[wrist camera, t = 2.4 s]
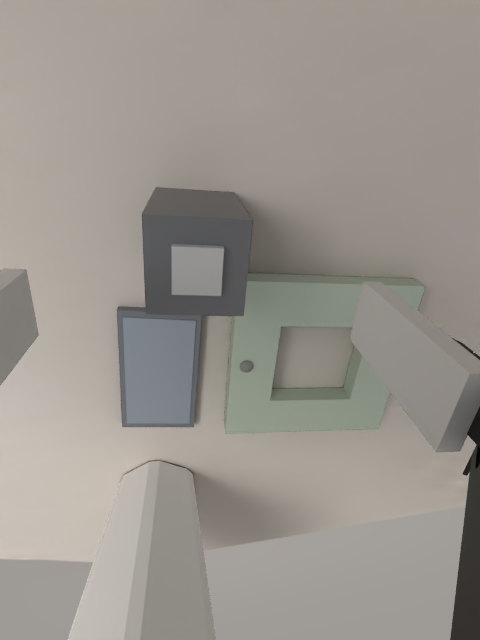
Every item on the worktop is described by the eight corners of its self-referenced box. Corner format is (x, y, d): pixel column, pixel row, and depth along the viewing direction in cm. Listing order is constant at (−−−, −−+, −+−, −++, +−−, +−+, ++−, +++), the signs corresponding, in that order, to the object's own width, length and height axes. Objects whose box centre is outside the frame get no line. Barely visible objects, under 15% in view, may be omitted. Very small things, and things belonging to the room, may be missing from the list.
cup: (211, 517, 39) (227, 761, 24) (113, 528, 38) (64, 792, 23) (208, 440, 34) (225, 690, 19) (94, 450, 33) (14, 724, 18)
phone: (119, 303, 27) (116, 311, 26) (201, 307, 28) (201, 315, 27) (124, 417, 32) (122, 427, 31) (193, 417, 33) (193, 427, 32)
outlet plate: (235, 272, 27) (238, 281, 25) (413, 278, 29) (427, 287, 27) (223, 420, 33) (225, 435, 31) (370, 416, 35) (379, 430, 33)
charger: (155, 187, 23) (140, 215, 16) (234, 192, 24) (254, 221, 17) (157, 262, 26) (145, 318, 18) (229, 265, 26) (244, 319, 19)
